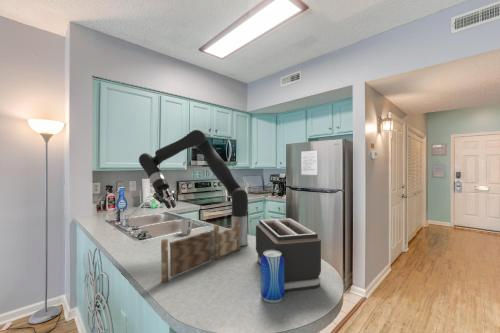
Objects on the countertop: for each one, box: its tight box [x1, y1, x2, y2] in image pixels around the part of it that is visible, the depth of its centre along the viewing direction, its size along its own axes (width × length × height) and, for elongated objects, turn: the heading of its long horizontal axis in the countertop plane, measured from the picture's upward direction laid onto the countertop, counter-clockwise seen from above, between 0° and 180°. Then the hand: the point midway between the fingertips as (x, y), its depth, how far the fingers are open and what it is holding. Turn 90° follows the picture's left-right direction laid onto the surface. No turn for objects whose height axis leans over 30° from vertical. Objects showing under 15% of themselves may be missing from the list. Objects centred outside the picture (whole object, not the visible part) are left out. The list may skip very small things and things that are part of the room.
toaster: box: [255, 217, 322, 293], centre depth 107 cm, size 19×35×20 cm, turn 13°
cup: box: [179, 217, 193, 236], centre depth 163 cm, size 8×8×10 cm
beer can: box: [260, 250, 285, 304], centre depth 85 cm, size 8×8×16 cm
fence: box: [160, 219, 241, 284], centre depth 114 cm, size 47×3×17 cm, turn 141°
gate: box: [169, 229, 214, 278], centre depth 109 cm, size 24×2×14 cm, turn 141°
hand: (172, 207), depth 121 cm, fingers closed
